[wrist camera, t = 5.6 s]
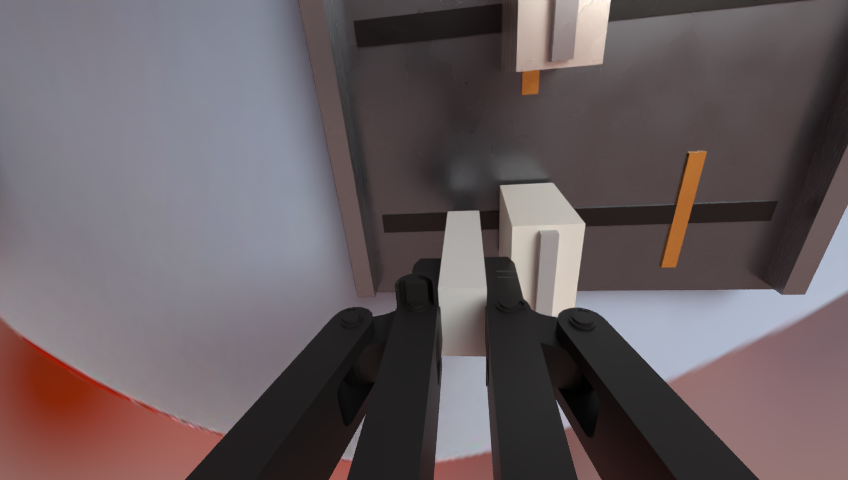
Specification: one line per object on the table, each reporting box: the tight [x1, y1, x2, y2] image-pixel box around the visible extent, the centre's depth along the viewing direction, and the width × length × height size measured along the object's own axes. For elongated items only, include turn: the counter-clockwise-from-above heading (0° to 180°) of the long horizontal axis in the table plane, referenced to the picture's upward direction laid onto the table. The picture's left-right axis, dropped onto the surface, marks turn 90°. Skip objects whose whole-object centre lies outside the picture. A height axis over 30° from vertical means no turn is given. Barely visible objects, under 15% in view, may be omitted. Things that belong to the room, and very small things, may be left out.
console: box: [298, 0, 848, 297], centre depth 14 cm, size 18×23×7 cm
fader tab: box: [499, 183, 585, 317], centre depth 15 cm, size 4×2×5 cm, turn 5°
